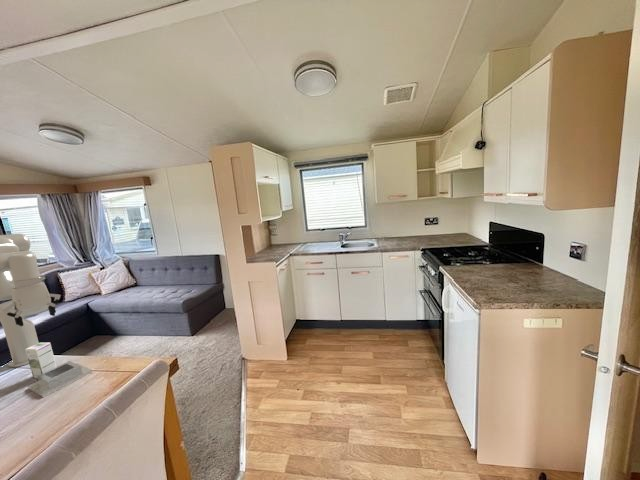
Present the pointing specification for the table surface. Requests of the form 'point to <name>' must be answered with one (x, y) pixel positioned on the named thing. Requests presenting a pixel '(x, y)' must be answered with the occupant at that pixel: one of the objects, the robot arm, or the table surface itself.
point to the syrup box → (40, 358)
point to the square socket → (58, 378)
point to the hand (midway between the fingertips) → (37, 320)
